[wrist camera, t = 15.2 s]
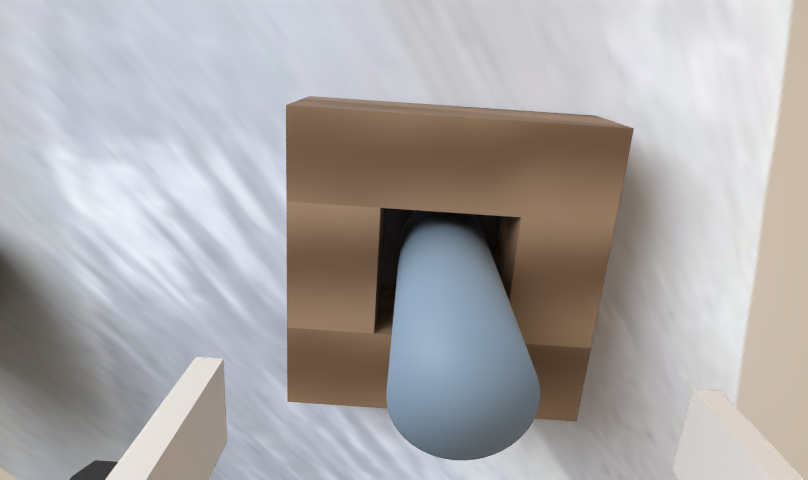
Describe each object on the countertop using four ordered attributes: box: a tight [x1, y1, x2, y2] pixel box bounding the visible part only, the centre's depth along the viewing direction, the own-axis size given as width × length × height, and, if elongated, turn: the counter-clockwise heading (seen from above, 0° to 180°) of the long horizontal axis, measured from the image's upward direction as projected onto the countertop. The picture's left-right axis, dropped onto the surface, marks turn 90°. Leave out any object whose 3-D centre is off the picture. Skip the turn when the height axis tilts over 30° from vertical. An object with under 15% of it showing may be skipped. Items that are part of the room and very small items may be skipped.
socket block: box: [286, 96, 633, 421], centre depth 27 cm, size 14×14×5 cm
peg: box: [386, 210, 540, 460], centre depth 22 cm, size 4×4×14 cm
